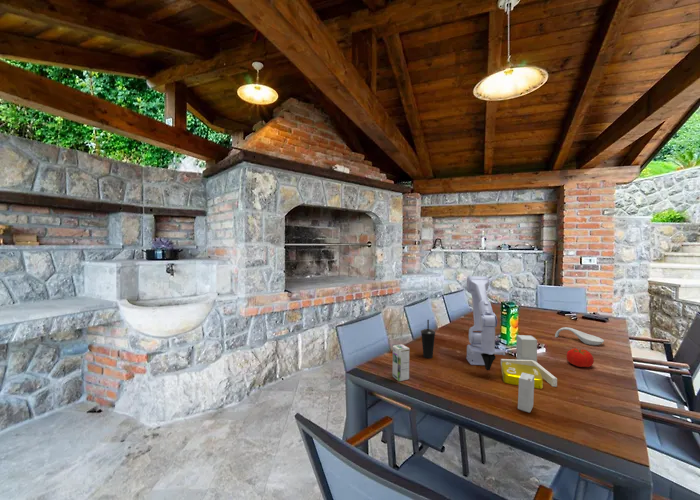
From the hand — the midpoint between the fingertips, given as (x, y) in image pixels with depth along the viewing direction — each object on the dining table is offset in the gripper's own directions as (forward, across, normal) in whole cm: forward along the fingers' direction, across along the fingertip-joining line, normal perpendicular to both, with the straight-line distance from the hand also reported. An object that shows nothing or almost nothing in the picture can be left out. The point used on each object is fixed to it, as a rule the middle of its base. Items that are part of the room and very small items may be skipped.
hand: (487, 369), depth 138 cm
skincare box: (+3, +5, -26) cm, 27 cm away
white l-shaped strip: (+3, +18, +2) cm, 18 cm away
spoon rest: (+3, +71, +52) cm, 88 cm away
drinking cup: (+3, -24, +20) cm, 31 cm away
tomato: (+3, +49, +16) cm, 52 cm away
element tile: (+3, +14, -2) cm, 14 cm away
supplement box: (+3, +25, +18) cm, 31 cm away
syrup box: (+3, -40, -6) cm, 41 cm away
